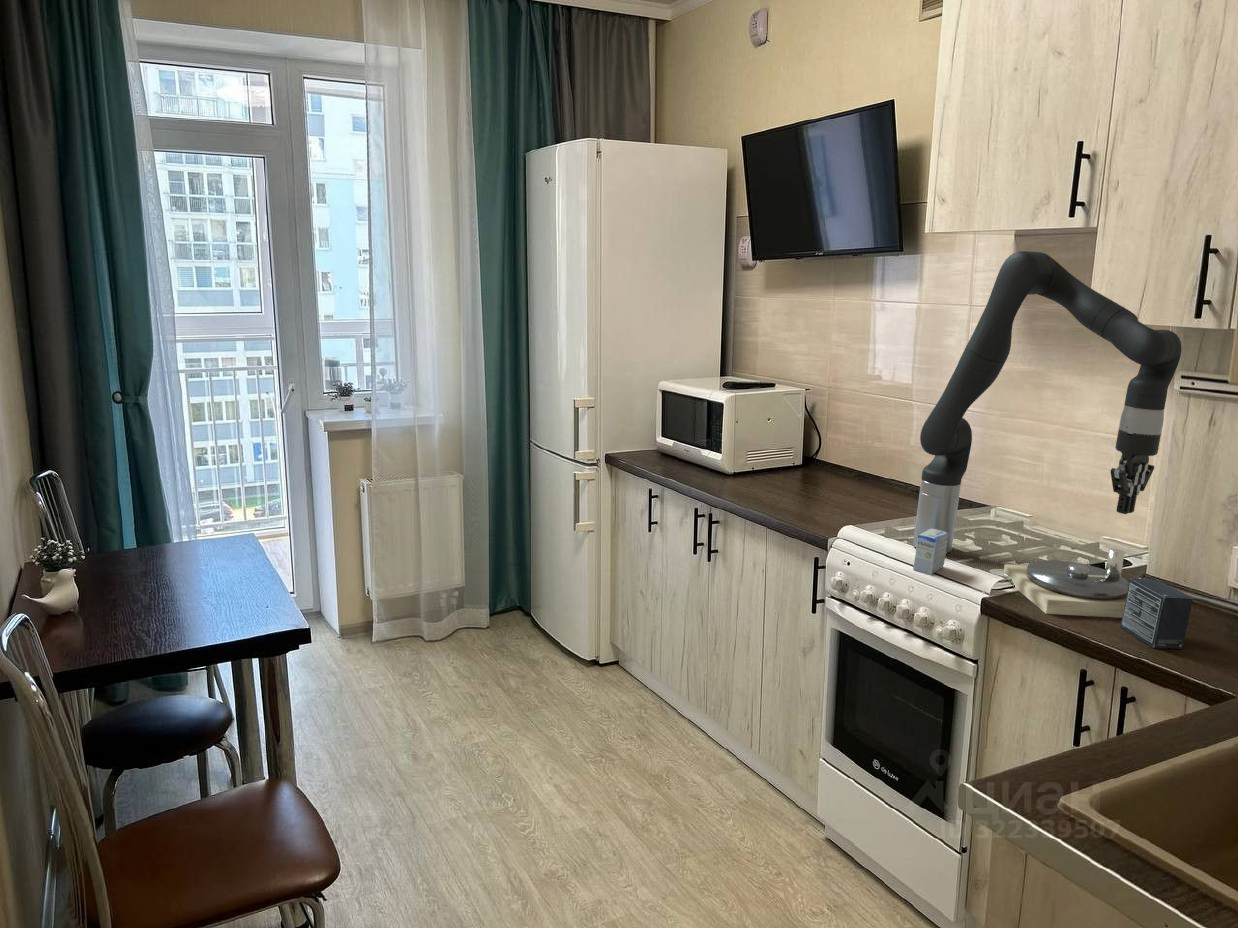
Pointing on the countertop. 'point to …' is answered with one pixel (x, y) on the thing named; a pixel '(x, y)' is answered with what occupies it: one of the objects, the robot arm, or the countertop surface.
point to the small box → (1156, 613)
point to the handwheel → (1082, 577)
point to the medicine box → (930, 551)
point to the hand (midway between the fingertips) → (1124, 512)
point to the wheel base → (1062, 598)
